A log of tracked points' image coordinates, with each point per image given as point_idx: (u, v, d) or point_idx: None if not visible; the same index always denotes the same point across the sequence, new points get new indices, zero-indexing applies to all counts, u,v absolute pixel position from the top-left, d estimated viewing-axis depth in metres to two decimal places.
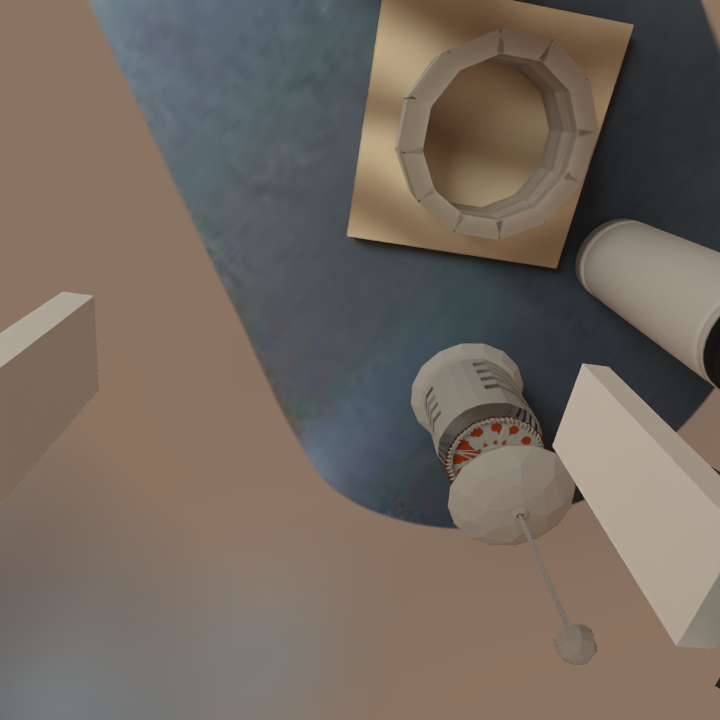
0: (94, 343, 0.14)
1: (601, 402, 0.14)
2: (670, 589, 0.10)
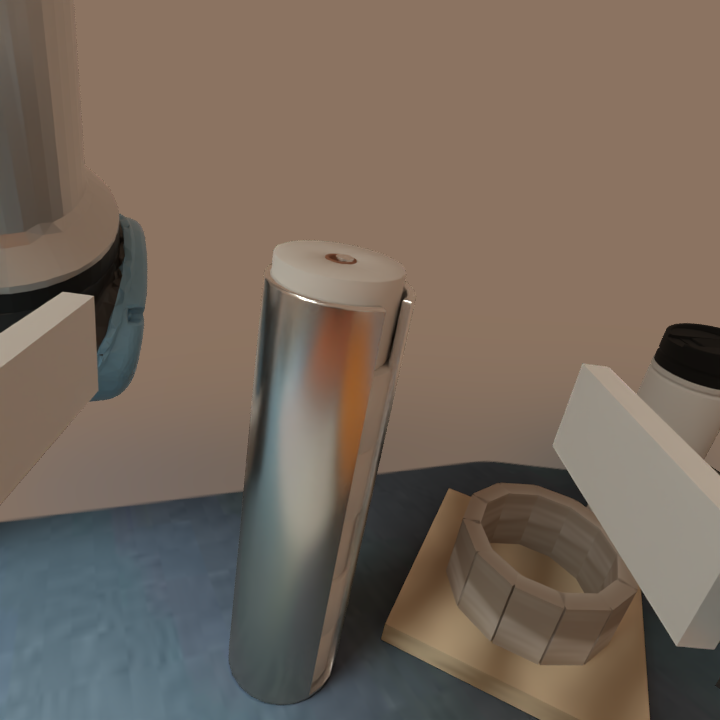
0: (94, 344, 0.14)
1: (601, 402, 0.14)
2: (670, 589, 0.10)
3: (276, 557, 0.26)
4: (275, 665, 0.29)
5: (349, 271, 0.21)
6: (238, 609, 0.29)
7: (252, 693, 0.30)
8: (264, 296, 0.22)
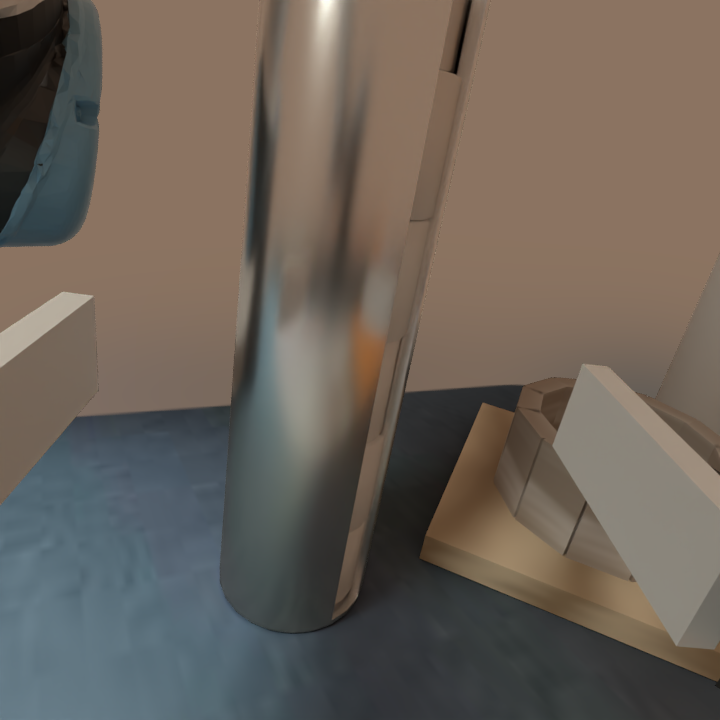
0: (94, 343, 0.14)
1: (601, 402, 0.14)
2: (670, 589, 0.10)
3: (288, 393, 0.17)
4: (285, 571, 0.21)
5: None
6: (232, 495, 0.21)
7: (253, 618, 0.22)
8: None
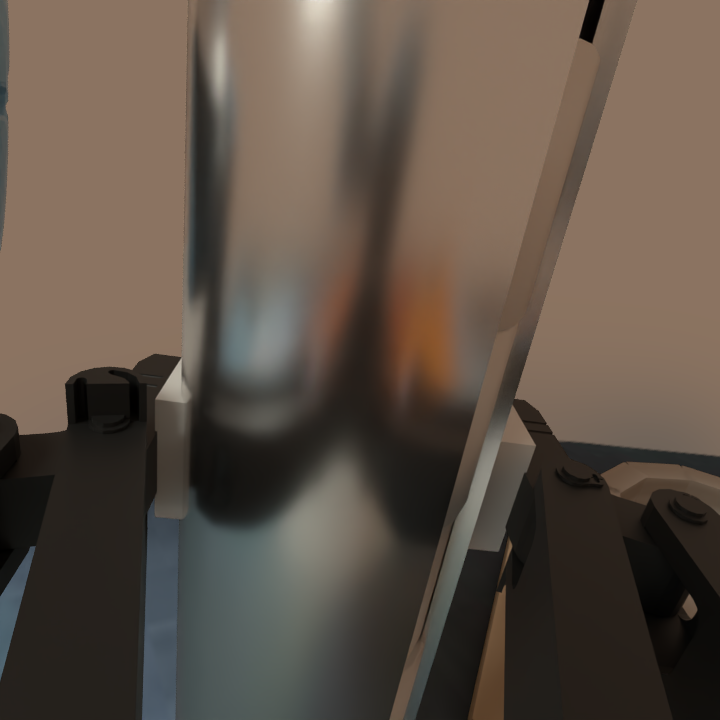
0: None
1: None
2: None
3: (262, 628, 0.10)
4: None
5: None
6: None
7: None
8: None
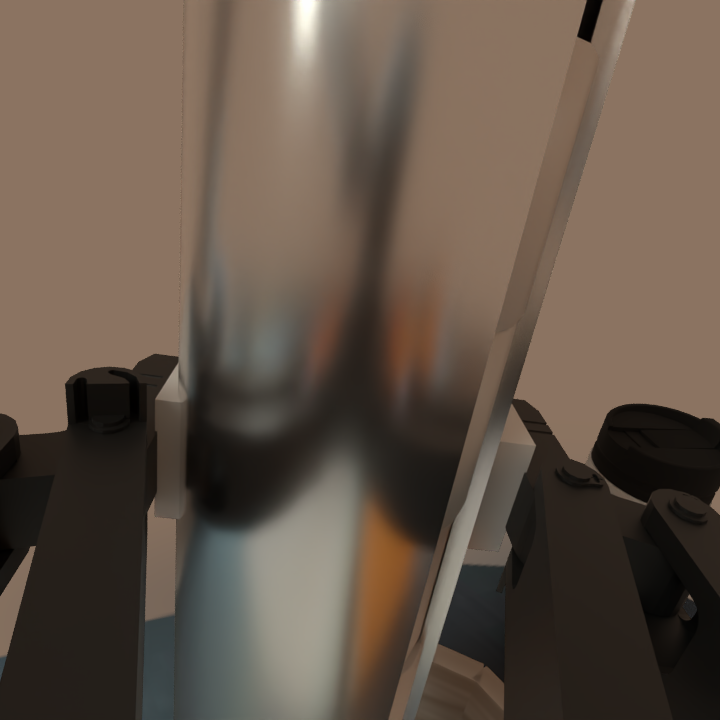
0: None
1: None
2: None
3: (259, 630, 0.10)
4: None
5: None
6: None
7: None
8: None
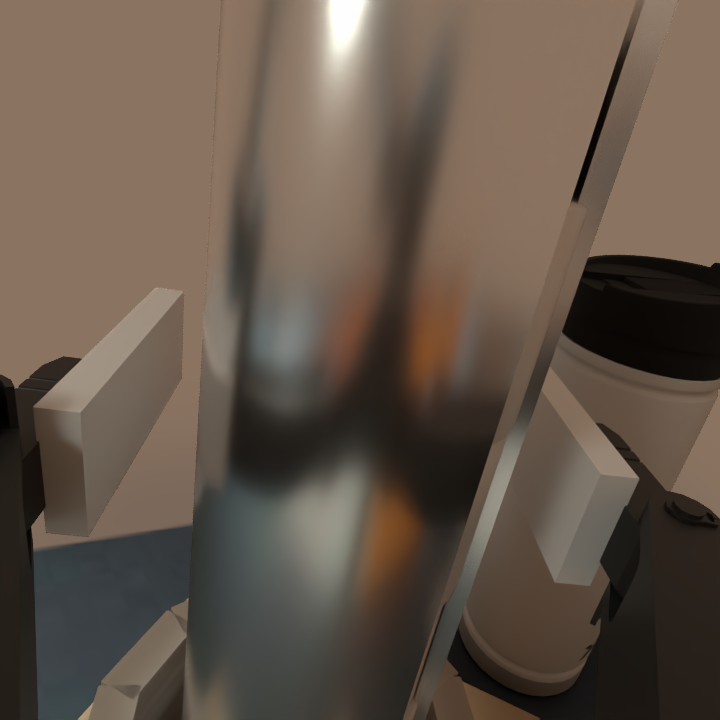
0: (181, 334, 0.15)
1: None
2: (553, 532, 0.11)
3: (267, 703, 0.11)
4: None
5: None
6: None
7: None
8: None
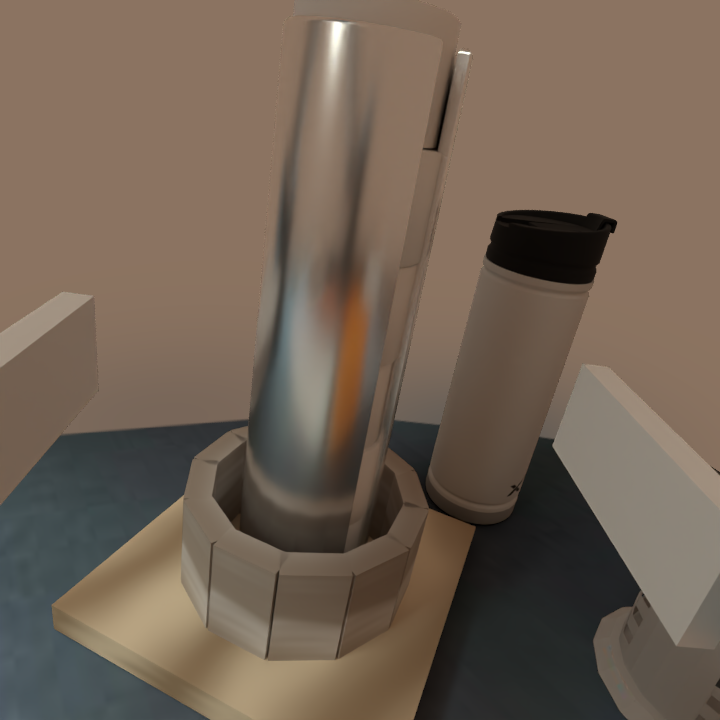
0: (94, 343, 0.14)
1: (601, 402, 0.14)
2: (670, 589, 0.10)
3: (298, 408, 0.21)
4: None
5: None
6: (249, 493, 0.24)
7: None
8: (285, 46, 0.18)
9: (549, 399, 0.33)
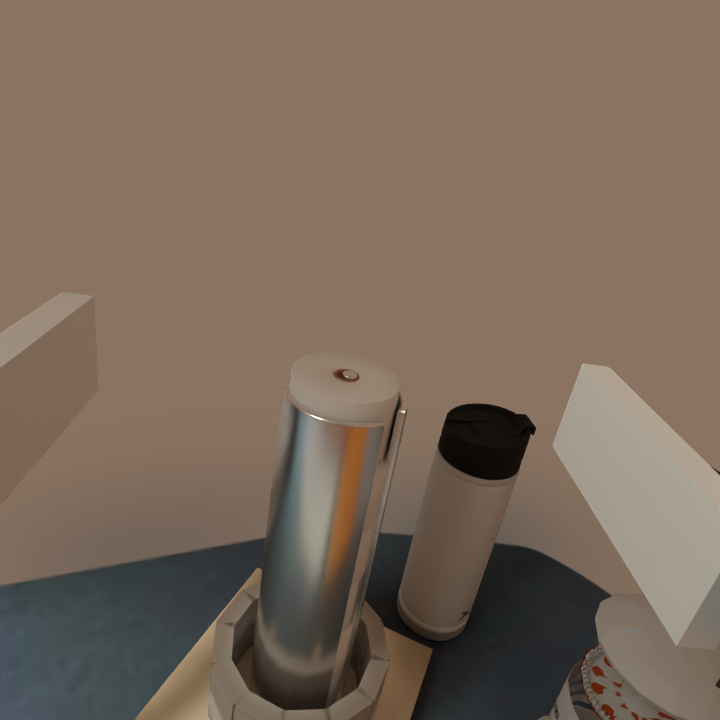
0: (94, 343, 0.14)
1: (601, 402, 0.14)
2: (670, 589, 0.10)
3: (293, 617, 0.30)
4: (291, 706, 0.33)
5: (354, 391, 0.26)
6: (259, 657, 0.34)
7: None
8: (284, 409, 0.27)
9: (489, 551, 0.42)
